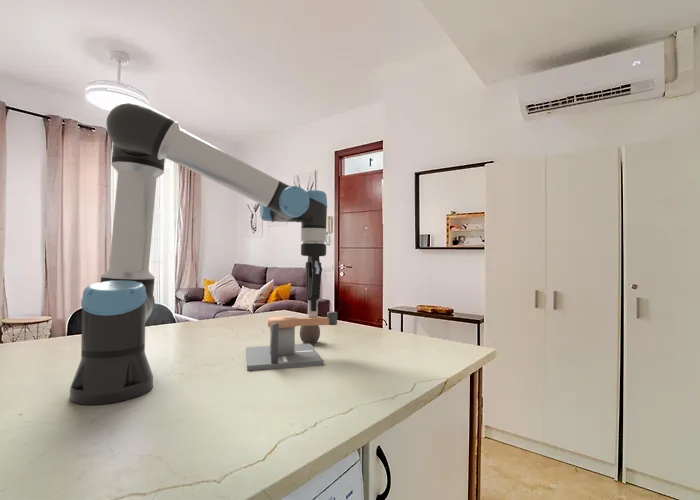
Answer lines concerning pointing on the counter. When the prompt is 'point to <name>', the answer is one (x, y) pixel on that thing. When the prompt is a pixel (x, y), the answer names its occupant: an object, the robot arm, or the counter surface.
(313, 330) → the vase
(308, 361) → the post base
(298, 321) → the wooden cross piece
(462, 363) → the counter surface
